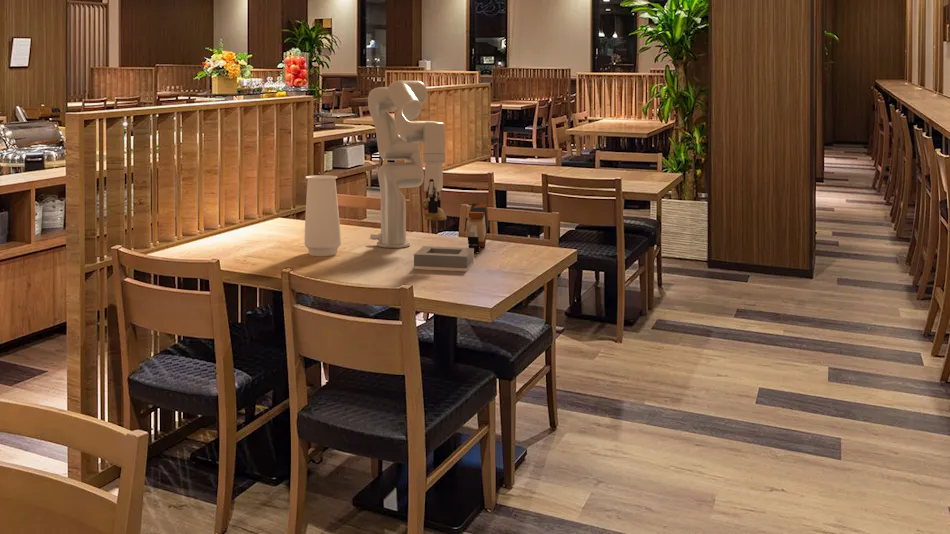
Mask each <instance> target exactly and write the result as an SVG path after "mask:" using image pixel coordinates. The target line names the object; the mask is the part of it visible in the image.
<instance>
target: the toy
mask: <svg viewBox="0 0 950 534" xmlns="http://www.w3.org/2000/svg"><path fill="white" fill-rule="evenodd" d="M488 212H489V211H488V204H487V203H475V202H474V203H471V207H470V209H469V212H468V218H467V221H466V227H467V244H468V247H467V248H474V252H479V253H480V252H481V251H480V248H479V247H485V248H486V242H487V234H488V231H489V226H490V225H489V213H488Z"/></svg>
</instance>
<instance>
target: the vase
mask: <svg viewBox="0 0 950 534" xmlns="http://www.w3.org/2000/svg"><path fill="white" fill-rule="evenodd" d="M305 179H306V180H307V183H306V185H307V186H306V200H305V218H304V221H305V222H304V246H305V247H306V248H307V249H308V253H309V255H310V256H312V257H330V256H335V255H337V254H338V249H339V247H340V246H341V245H342V240H341V239H342V238H341V235H342V234H341V224H340V212H339V210H340V209H339V202H338V193H337V192H338V191H337V183H336V179H338V176H337V175H328V174H325V175H324V174H322V175H321V174H319V175H318V174H316V175H315V174H313V175H307V176H305Z"/></svg>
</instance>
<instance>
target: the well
mask: <svg viewBox="0 0 950 534" xmlns="http://www.w3.org/2000/svg"><path fill="white" fill-rule="evenodd" d="M474 259H475V253H474V248H469V247H456V246H455V247H454V246H453V247H452V246H449V247H448V246H429V245H427V246H426V245H425V246H424V245H423V246H422V247H421V248H419V250H417V251H416V252H415V253H414V254H413V270H424V271H425V270H427V271H428V270H429V271H452V272H468V271H469V269H470V268H471V267H472V265H473V264H474V262H475V260H474Z"/></svg>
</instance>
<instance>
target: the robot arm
mask: <svg viewBox="0 0 950 534" xmlns="http://www.w3.org/2000/svg"><path fill="white" fill-rule="evenodd" d="M427 99H428V89H427V87H426V84H425V83H424V82H422V81H420V80H402V79H401V80H395V81H392V82H391V83H390V84H389V85H388V86H379V87H375V88H373V89H371V90H370V91H369V93H368V97H367V107H368V111H369V115H370V116H371V119H372V121H373V124H374V129H375V136H376V142H377V150H378V155H379V156H380V158H381V159H383V160H384V161H405V162H389V163H388V162H387V163H385V164H384V163H383V164H382V165H380V167H379V168H378V170H377V179H378V185H379V191H380V233H378V234H373V233H371V234H370V235H369V237H370V240H372V241H374V240H376V241H377V242H376V245H377V247H380V248H384V249H385V248H386V249H399V248H407V247H409V246H410V244H411V242H410V241H408V240H407V232H406V231H407V229H406V228H407V218H406V217H407V208H406V207H407V204H406V203H407V202H406V201H407V200H406V197H405V196H404V194H403V192H402V191H401V190H400V189H403V188H404V189H405V188H418V187H420V186H421V185H422V184H423V183H424V184H423V191H424V192H425V193H428V197H429V198H428V197H427V198H428V212H429V213H438V207H439V208H441V209H442V206H441V202H442V201H441V191H442V190H443V187H444V186H443V185H444V183H443V182H444V180H443V179H444V176H443V175H444V174H443V173H444V171H443V164H445V163H446V125H445V123H444V122H440V121H434V120H414V119H416V118H417V117H419V115H420V114H421V112H422V105H423V104H424V103H426V101H427ZM389 111H397V112H396V114H395V117H393V115H391V113H390V112H389ZM420 143H421V144H422V147H423V150H422V151H423V154H422V153H421V146H420ZM422 155H423V158H422ZM422 159H423V160H422ZM423 164H425V165H423ZM434 194H435V195H434ZM437 194H438V195H439V199H438V201H437Z"/></svg>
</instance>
